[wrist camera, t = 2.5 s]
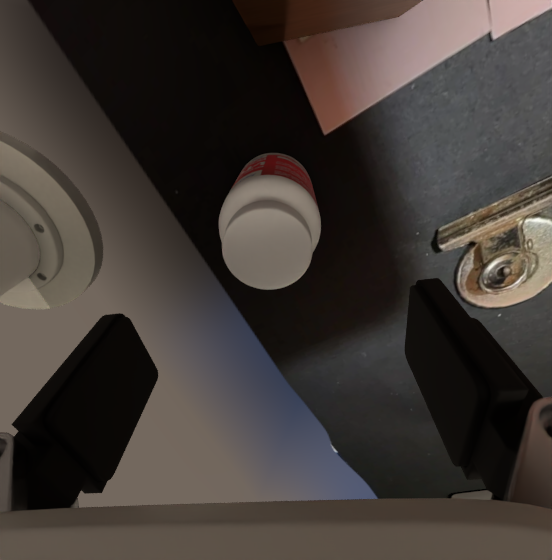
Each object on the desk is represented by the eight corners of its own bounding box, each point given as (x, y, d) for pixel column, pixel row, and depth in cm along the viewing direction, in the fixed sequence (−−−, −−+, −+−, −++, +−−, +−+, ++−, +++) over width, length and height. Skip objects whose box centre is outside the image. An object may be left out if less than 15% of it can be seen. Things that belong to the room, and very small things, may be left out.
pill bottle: (261, 134, 22) (245, 163, 13) (327, 180, 24) (353, 236, 15) (223, 202, 25) (186, 267, 16) (284, 239, 27) (283, 318, 17)
